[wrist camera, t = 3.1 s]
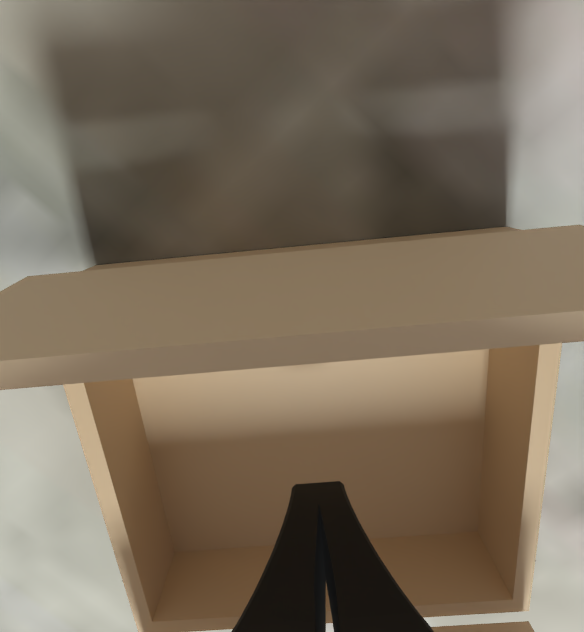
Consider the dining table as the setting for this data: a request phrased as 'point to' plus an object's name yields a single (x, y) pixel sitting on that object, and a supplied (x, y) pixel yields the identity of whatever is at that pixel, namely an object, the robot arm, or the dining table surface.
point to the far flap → (488, 627)
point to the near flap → (295, 308)
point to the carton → (324, 470)
